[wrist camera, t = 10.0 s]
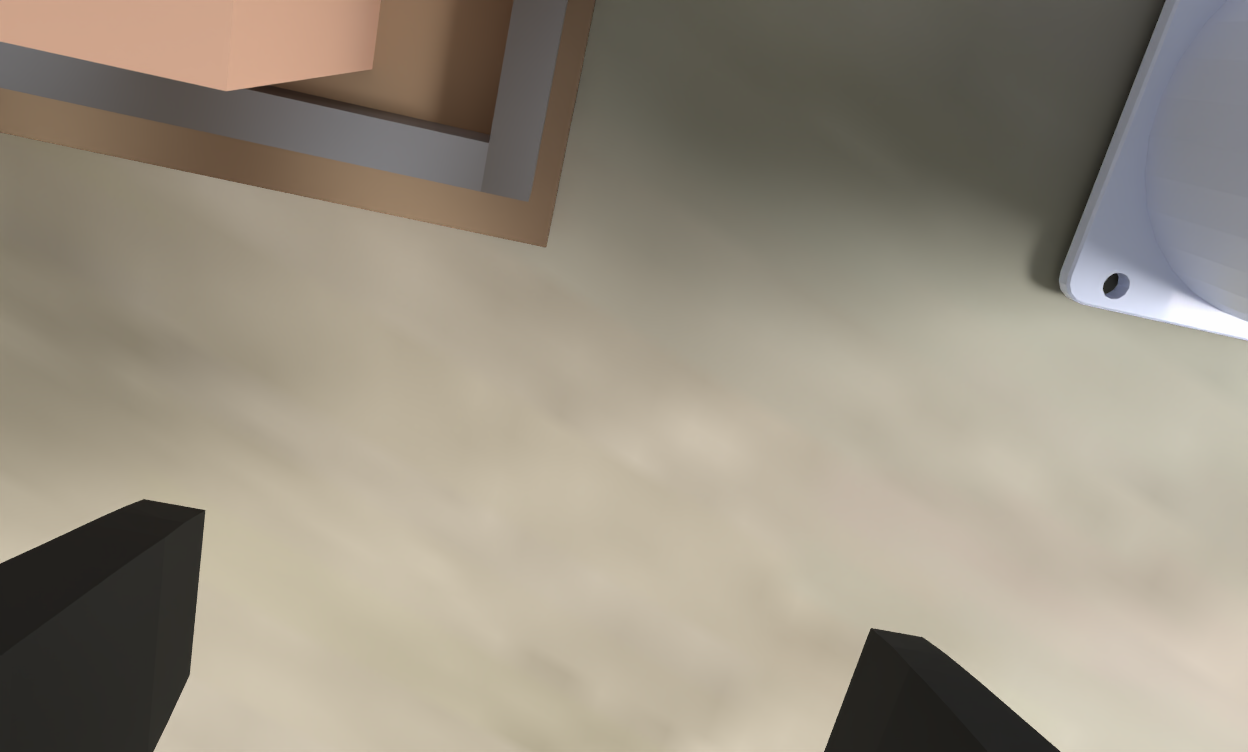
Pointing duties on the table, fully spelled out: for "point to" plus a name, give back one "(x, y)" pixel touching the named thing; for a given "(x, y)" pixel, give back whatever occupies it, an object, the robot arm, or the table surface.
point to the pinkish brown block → (203, 37)
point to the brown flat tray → (351, 116)
